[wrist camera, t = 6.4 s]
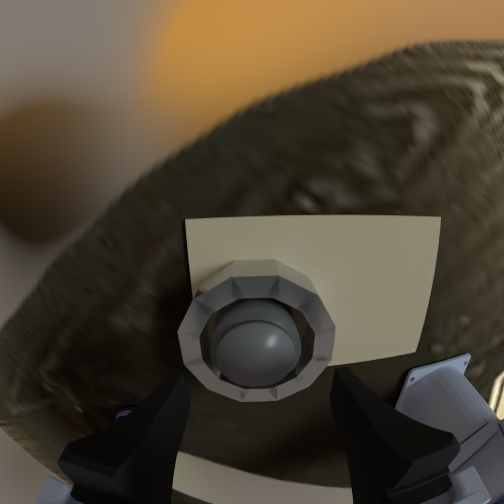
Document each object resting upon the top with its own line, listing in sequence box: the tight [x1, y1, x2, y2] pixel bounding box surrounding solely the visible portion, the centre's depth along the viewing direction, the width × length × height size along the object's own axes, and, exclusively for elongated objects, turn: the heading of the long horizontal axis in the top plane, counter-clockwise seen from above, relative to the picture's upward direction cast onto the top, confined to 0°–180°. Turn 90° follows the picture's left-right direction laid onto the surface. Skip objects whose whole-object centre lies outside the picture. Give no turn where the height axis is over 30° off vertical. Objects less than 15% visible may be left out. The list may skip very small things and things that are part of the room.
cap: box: [210, 297, 301, 387], centre depth 16 cm, size 5×5×4 cm
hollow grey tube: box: [178, 259, 336, 402], centre depth 16 cm, size 9×9×3 cm
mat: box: [185, 215, 441, 366], centre depth 17 cm, size 11×17×1 cm, turn 92°
